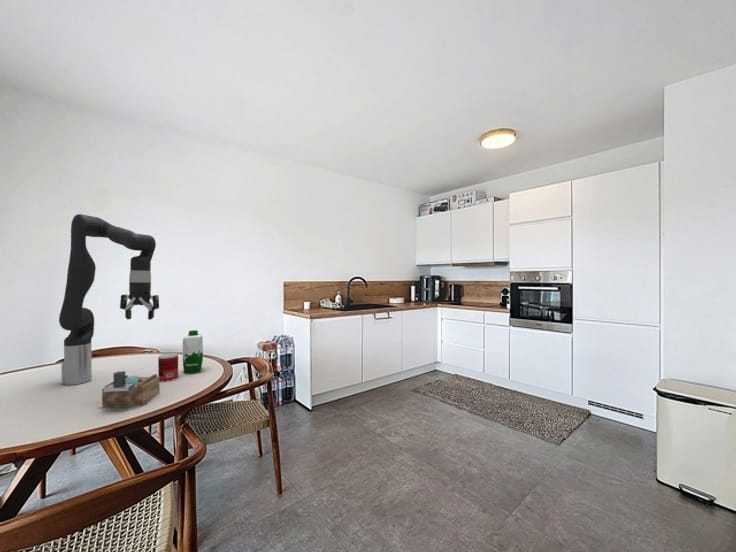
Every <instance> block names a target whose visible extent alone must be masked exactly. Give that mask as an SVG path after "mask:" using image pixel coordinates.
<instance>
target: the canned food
mask: <svg viewBox="0 0 736 552" xmlns="http://www.w3.org/2000/svg"><path fill="white" fill-rule="evenodd" d="M157 359H158V360H157V361H158V366H157V367H158V371H157V372H158V375H157V377H159V382H168V381H167V380H170V381H173V380H172V379H174V380H176V379H177V378H178V377H179V354H178V353H176V352H175V353H173V352H172V353H164V354H161V355H158V357H157ZM175 378H176V379H175Z"/></svg>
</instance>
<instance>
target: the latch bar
mask: <svg viewBox="0 0 736 552" xmlns="http://www.w3.org/2000/svg"><path fill="white" fill-rule="evenodd" d="M125 375H126V371H115V373H113V381H114V385H109V386H108V387H106V388H104V387H103V388H104V392H113V391H129V390H130V389H132V388H134V387H135V384H125Z"/></svg>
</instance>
